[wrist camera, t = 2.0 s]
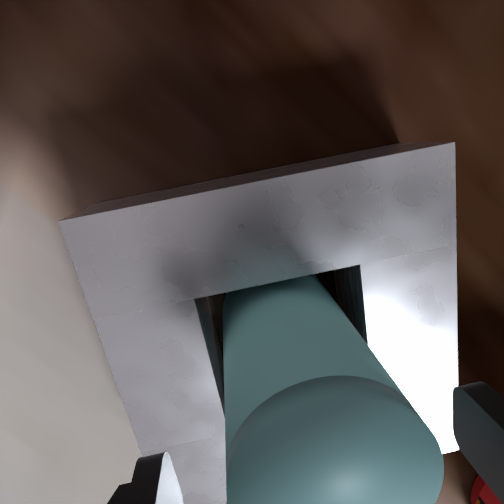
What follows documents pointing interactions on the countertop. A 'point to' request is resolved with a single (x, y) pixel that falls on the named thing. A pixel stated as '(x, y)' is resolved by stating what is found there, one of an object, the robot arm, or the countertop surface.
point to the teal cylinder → (316, 407)
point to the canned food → (482, 493)
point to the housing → (268, 271)
